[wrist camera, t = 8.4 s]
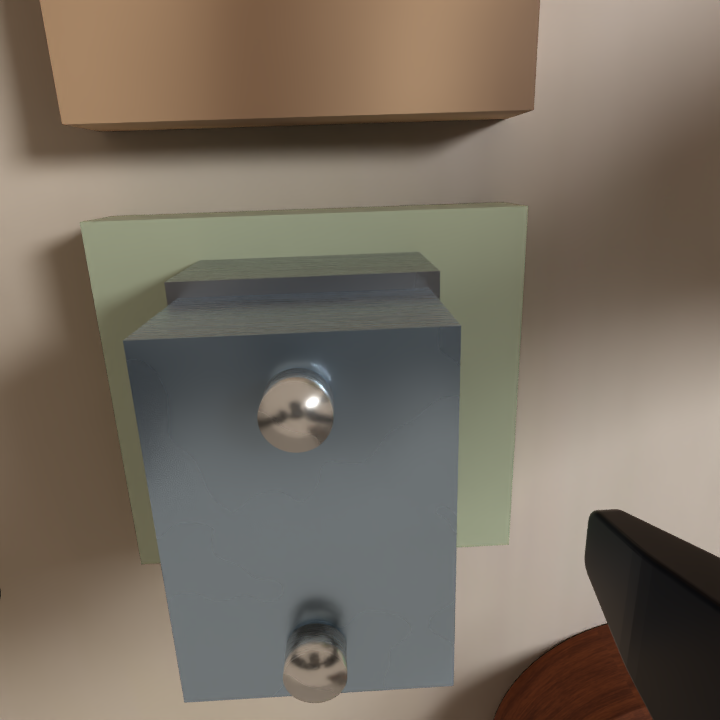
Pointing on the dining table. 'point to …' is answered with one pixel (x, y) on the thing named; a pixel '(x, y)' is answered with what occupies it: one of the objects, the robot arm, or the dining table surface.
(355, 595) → the housing
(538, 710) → the brown bird figurine
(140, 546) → the green stand
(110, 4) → the walnut stand
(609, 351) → the dining table surface
